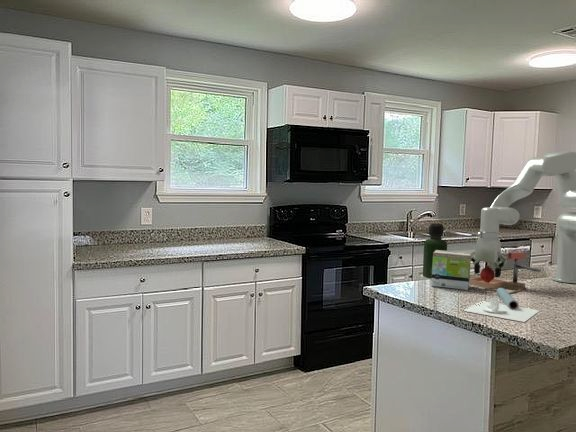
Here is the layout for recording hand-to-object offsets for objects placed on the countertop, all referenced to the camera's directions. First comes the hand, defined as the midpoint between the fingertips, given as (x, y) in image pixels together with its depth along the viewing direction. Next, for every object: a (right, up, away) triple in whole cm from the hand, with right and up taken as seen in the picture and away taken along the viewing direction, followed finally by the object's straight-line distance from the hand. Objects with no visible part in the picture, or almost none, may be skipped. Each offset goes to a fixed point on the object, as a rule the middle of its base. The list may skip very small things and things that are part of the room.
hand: (487, 275), depth 217 cm
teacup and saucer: (-12, -7, -43) cm, 46 cm away
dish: (0, -4, 0) cm, 4 cm away
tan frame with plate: (+5, -5, -8) cm, 11 cm away
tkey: (+12, -3, -10) cm, 16 cm away
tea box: (-18, -4, -5) cm, 19 cm away
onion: (0, -4, 0) cm, 4 cm away
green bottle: (-19, -3, +15) cm, 24 cm away
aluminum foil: (-6, -7, -30) cm, 31 cm away
